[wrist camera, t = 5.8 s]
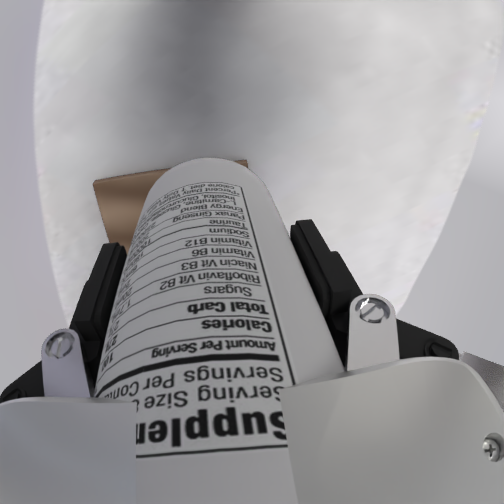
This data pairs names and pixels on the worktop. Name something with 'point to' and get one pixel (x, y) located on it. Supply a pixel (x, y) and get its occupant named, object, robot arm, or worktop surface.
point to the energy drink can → (212, 339)
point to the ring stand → (126, 202)
